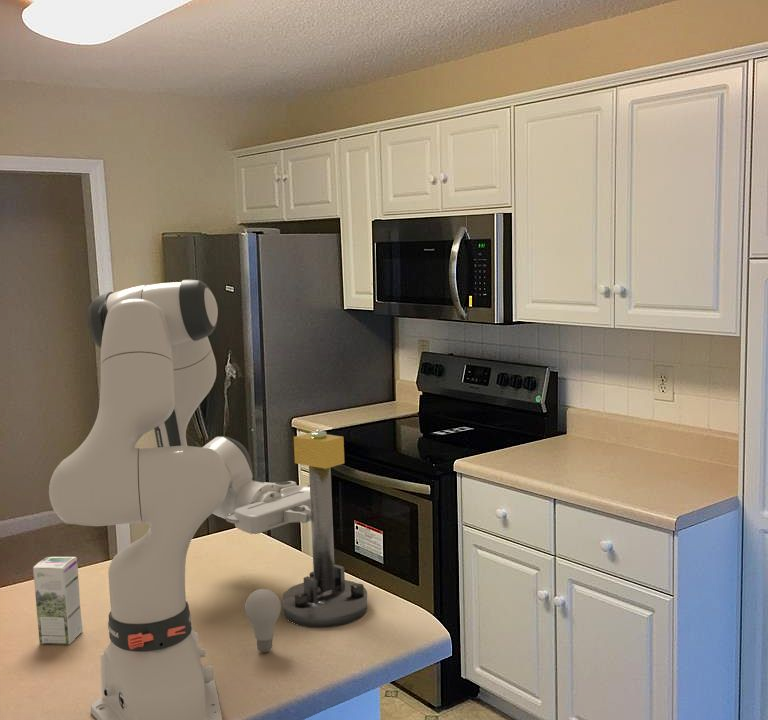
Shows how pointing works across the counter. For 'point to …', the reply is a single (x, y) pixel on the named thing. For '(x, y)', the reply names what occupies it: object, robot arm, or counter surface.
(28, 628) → the counter surface
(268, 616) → the lightbulb
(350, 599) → the tribrach base
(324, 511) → the instrument mast
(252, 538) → the counter surface
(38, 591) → the syrup box
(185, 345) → the robot arm
